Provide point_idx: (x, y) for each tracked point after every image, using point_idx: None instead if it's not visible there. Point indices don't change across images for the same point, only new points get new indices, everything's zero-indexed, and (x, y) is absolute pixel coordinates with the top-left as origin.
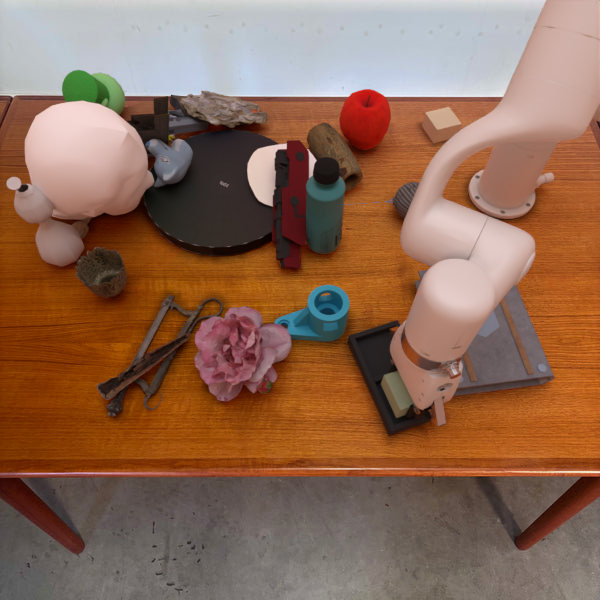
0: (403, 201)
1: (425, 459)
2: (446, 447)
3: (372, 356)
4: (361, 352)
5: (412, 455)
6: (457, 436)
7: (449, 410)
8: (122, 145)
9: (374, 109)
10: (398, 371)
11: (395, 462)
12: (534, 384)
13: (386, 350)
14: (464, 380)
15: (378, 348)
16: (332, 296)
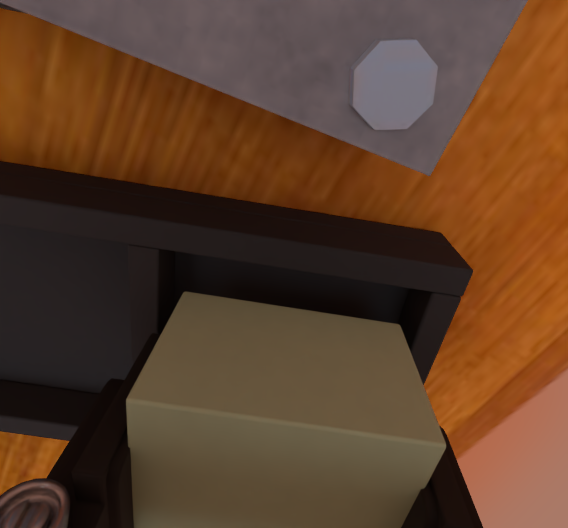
0: None
1: (522, 376)
2: (556, 289)
3: (40, 348)
4: (11, 372)
5: (476, 401)
6: (563, 218)
7: (442, 171)
8: None
9: None
10: (140, 517)
11: (453, 448)
12: None
13: (22, 282)
14: (435, 41)
15: (4, 306)
16: None
